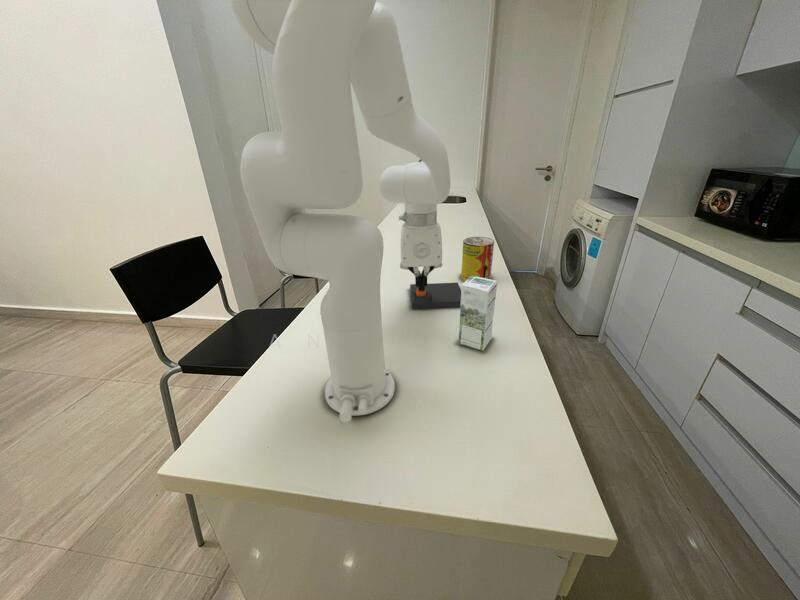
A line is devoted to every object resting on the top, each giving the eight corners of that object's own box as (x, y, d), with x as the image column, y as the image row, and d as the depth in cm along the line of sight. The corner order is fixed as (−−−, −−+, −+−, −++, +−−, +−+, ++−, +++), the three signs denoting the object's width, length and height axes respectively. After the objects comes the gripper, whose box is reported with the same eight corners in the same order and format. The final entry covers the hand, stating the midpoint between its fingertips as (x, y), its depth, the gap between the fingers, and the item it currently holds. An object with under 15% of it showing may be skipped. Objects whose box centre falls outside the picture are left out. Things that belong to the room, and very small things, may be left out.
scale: (465, 308, 86) (466, 296, 85) (411, 310, 86) (411, 298, 85) (457, 288, 98) (457, 277, 96) (409, 290, 98) (409, 279, 96)
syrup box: (491, 338, 74) (498, 279, 67) (482, 352, 69) (488, 290, 63) (467, 332, 76) (471, 274, 70) (457, 344, 72) (460, 284, 65)
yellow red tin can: (470, 285, 99) (473, 247, 93) (456, 275, 107) (457, 238, 101) (496, 281, 101) (500, 243, 96) (480, 270, 109) (483, 235, 104)
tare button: (426, 297, 86) (426, 291, 86) (416, 297, 86) (416, 292, 86) (425, 292, 89) (425, 287, 88) (415, 293, 89) (415, 287, 88)
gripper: (389, 224, 75) (392, 296, 83) (454, 221, 75) (452, 293, 83) (389, 216, 82) (392, 283, 90) (449, 213, 82) (447, 281, 90)
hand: (421, 288), depth 87 cm, fingers closed
